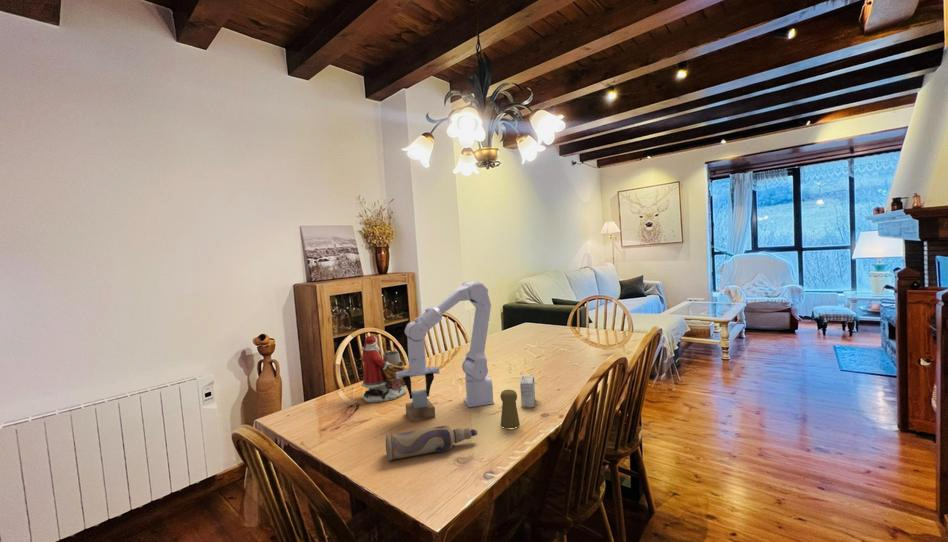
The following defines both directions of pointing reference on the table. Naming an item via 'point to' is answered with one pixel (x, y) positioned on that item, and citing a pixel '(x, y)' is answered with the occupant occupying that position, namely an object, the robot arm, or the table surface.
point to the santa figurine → (381, 373)
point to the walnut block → (420, 412)
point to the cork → (509, 409)
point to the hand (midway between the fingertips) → (419, 396)
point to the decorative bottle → (424, 441)
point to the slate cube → (419, 398)
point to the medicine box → (527, 391)
